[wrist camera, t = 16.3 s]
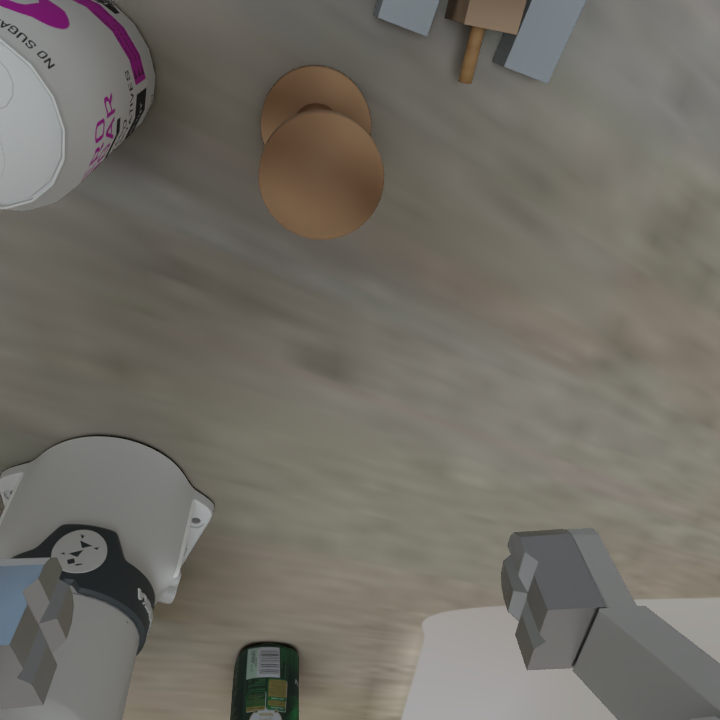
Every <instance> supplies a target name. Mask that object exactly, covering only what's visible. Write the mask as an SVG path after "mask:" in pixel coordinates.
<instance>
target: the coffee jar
mask: <svg viewBox="0 0 720 720" xmlns="http://www.w3.org/2000/svg"><path fill="white" fill-rule="evenodd" d="M230 720H299V657H298V654H297V653H296V651H295V650H293V649H291V648H289V647H285V646H283V645H280V644H272V643H264V644H260V645H256V646H252V647H248V648H245V649H244V650H243V651H242V652H241V653H240V654H239V656H238V659H237V661H236V665H235V669H234V678H233V689H232V703H231V716H230Z"/></svg>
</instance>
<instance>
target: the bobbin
mask: <svg viewBox="0 0 720 720" xmlns="http://www.w3.org/2000/svg"><path fill="white" fill-rule="evenodd" d="M261 134H262V138H263V142H264V145H265V147H264V149H263V152H262V156H261V160H260V166H259V187H260V191H261V195H262V198H263V200H264V203H265V205H266V207H267V208H268V210H269V211H270V213H271V214H272V216H273V217H274V218H275V219H276V220H277V221H278V222H279V223H280V224H281V225H282V226H283V227H285V228H286V229H288V230H289V231H291V232H293V233H295V234H297V235H300V236H303V237H306V238H310V239H318V240H326V239H334V238H338V237H342V236H344V235H347V234H349V233H351V232H353V231H354V230H356V229H358V228H359V227H360V226H361V225H363V224H364V223H365V222H366V221H367V220H368V219H369V218H370V216H371V215H372V214H373V212H374V211H375V209H376V207H377V205H378V203H379V201H380V198H381V195H382V191H383V185H384V170H383V164H382V160H381V157H380V154H379V152H378V149H377V147H376V145H375V143H374V141H373V139H372V138H371V136H370V135H371V118H370V113H369V109H368V106H367V103H366V101H365V99H364V97H363V95H362V93H361V91H360V90H359V89H358V87H357V86H356V85H355V84H354V83H353V81H352V80H351V79H349V78H348V77H347V76H346V75H344V74H343V73H341V72H339V71H337V70H335V69H333V68H330V67H326V66H320V65H308V66H302V67H299V68H296V69H294V70H292V71H289V72H288V73H286V74H285V75H283V76H282V77H281V78H280V79H279V80H278V81H277V82H276V83H275V84H274V85H273V87H272V88H271V90H270V91H269V93H268V95H267V97H266V99H265V103H264V106H263V109H262V115H261Z"/></svg>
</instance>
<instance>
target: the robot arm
mask: <svg viewBox="0 0 720 720" xmlns="http://www.w3.org/2000/svg"><path fill="white" fill-rule="evenodd" d="M0 493H1V497H2V500H3V503H4V507H5V509H4V511H3V513H2V515H1V517H0V720H122V718H123V713H124V708H125V704H126V699H127V694H128V690H129V685H130V681H131V676H132V672H133V667H134V663H135V658H136V656H137V655H138V654H139V652H140V651H141V649H142V648H143V646H144V643H145V640H146V637H147V635H148V633H149V631H150V627H151V623H152V619H153V617H152V616H153V609H154V606H155V604H156V603H157V602H161V603H166V604H171V603H172V602H173V600H174V598H175V595H176V592H177V588H178V584H179V581H180V578H181V573H182V572H181V571H180V568H181V567H182V565H183V563H184V562H185V560H186V559H187V557H188V555H189V554H190V552H191V550H192V549H193V547H194V545H195V544H196V542H197V541H198V539H199V537H200V536H201V534H202V532H203V531H204V529H205V528H206V526H207V524H208V523H209V521H210V519H211V518H212V515H213V512H214V504H213V503H212V502H211V501H210V500H209V499H208V498H206V497H205V496H204V495H202V494H201V493H199V492H198V491H196V490H195V489H194V488H193V487H192V486H191V485H190V483H189V482H188V480H187V479H186V477H185V476H184V474H183V473H182V471H181V470H180V469H179V468H178V467H177V466H176V465H175V464H174V463H173V462H172V461H171V460H170V459H168V458H167V457H165V456H164V455H162V454H161V453H159V452H157V451H156V450H154V449H152V448H150V447H147V446H145V445H142V444H140V443H137V442H133V441H130V440H126V439H121V438H114V437H102V436H94V437H82V438H76V439H72V440H68V441H65V442H62V443H60V444H57V445H55V446H53V447H51V448H50V449H48V450H47V451H45V452H44V453H43V454H41V455H40V456H39V457H38V458H36V459H35V460H33V461H32V462H30V463H26V464H22V465H18V466H15V467H11V468H9V469H6V470H5V471H3V472H2V474H1V476H0ZM508 548H509V551H510V554H511V555H510V556H509V557H507V558H506V559H505V560H504V561H503V566H502V571H501V585H502V592H503V597H504V601H505V604H506V607H507V610H508V612H509V613H510V614H511V615H512V616H513V617H514V618H515V619H516V620H518V621H519V624H518V627H517V630H516V634H515V635H516V638H517V641H518V644H519V647H520V650H521V654H522V656H523V659H524V663H525V665H526V669H527V670H541V669H564V668H574V669H573V671H574V673H576V675H577V676H578V677H579V678H580V679H581V680H582V681H583V682H584V683H585V685H586V686H587V687H589V689H590V690H591V691H592V692H593V693H594V694H595V695H596V696H597V698H599V700H600V701H601V702H602V703H603V704H604V705H605V706H606V707H607V708H608V710H609V711H610V712H611V713H612V714H613V715H614V716H615V717H616V718H617V719H618V720H720V663H718V662H717V661H716V660H715V659H713V658H712V657H711V656H710V655H708V654H707V653H706V652H704V651H703V650H702V649H700V648H699V647H698V646H696V645H695V644H694V643H693V642H691V641H690V640H689V639H687V638H686V637H685V636H684V635H682V634H681V633H679V632H678V631H677V630H676V629H674V628H673V627H672V626H671V625H669V624H668V623H666V622H665V621H664V620H663V619H661V618H660V617H659V616H657V615H656V614H655V613H654V612H652V611H651V610H650V609H648V608H647V607H646V606H637V605H636V603H635V601H634V599H633V598H632V596H631V594H630V592H629V590H628V588H627V586H626V584H625V583H624V581H623V579H622V577H621V575H620V573H619V571H618V570H617V568H616V566H615V564H614V562H613V560H612V558H611V557H610V555H609V553H608V551H607V549H606V547H605V545H604V544H603V542H602V540H601V538H600V536H599V534H598V533H597V532H596V531H595V530H594V529H593V528H583V529H567V530H564V529H556V530H541V531H526V532H514V533H513V534H512V535H511V536H510V538H509V542H508Z"/></svg>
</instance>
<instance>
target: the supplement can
mask: <svg viewBox="0 0 720 720" xmlns="http://www.w3.org/2000/svg"><path fill="white" fill-rule="evenodd" d="M155 77H156V76H155V72H154V68H153V63H152V59H151V55H150V51H149V48H148V47H147V45H146V43H145V41H144V40H143V38H142V36H141V35H140V33H139V31H138V29H137V28H136V26H135V24H134V23H133V22H132V21H131V20H130V19H129V18H128V17H127V16H126V15H125V14H124V13H123V12H122V11H120V10H119V9H118V8H117V7H116V6H115V5H114V4H113V3H112V2H110V1H108V0H0V209H3V210H16V211H28V210H32V209H36V208H39V207H43V206H47V205H50V204H54V203H56V202H58V201H59V200H60V199H61V198H63V197H64V196H65V195H66V194H67V193H69V192H70V191H71V190H72V189H74V188H75V187H76V186H77V185H79V184H80V183H81V182H82V181H83V180H84V179H85V178H86V177H87V176H88V175H89V174H90V173H91V172H92V171H93V170H94V169H95V168H96V167H97V166H98V165H99V164H100V163H101V162H102V161H103V160H104V159H105V158H106V157H107V156H108V155H109V154H110V153H111V152H112V151H113V150H114V149H115V148H116V147H117V146H118V145H120V144H121V143H122V142H123V141H124V140H125V139H126V138H127V137H128V136H129V135H130V134H131V133H132V132H133V131H134V130H135V129H136V128H137V127H138V126H139V125H140V124H141V123H142V122H143V121H144V119H145V117H146V115H147V113H148V111H149V109H150V107H151V105H152V103H153V99H154V88H155Z"/></svg>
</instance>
